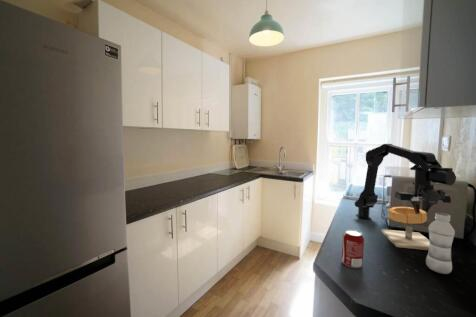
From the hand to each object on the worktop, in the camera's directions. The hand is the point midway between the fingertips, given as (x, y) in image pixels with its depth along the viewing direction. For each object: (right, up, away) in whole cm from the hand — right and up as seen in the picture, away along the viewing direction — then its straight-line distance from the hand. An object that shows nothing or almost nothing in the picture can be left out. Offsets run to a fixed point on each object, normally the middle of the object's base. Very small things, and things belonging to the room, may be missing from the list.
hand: (420, 216), depth 97 cm
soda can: (-40, -13, -18) cm, 46 cm away
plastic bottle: (-12, -14, -21) cm, 28 cm away
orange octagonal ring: (-5, -2, +1) cm, 6 cm away
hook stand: (-5, -11, +1) cm, 12 cm away
